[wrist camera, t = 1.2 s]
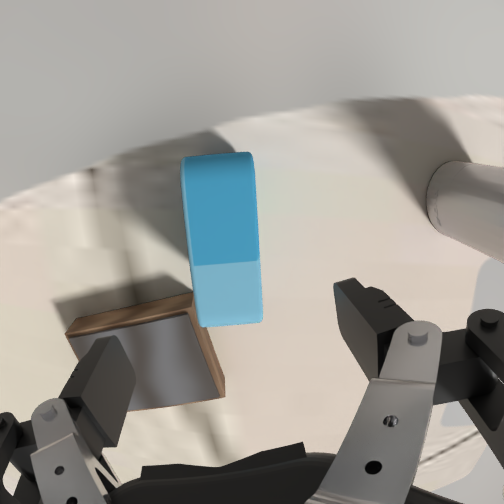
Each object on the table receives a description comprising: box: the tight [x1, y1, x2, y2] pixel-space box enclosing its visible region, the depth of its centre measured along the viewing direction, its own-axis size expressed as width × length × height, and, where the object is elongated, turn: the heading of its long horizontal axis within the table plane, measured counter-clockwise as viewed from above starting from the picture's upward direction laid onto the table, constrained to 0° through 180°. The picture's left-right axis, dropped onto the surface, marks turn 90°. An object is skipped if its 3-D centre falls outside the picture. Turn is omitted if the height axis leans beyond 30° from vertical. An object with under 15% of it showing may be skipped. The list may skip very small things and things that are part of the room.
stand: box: [65, 292, 225, 412], centre depth 34 cm, size 15×12×4 cm
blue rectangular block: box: [180, 152, 263, 327], centre depth 26 cm, size 12×4×12 cm, turn 4°
